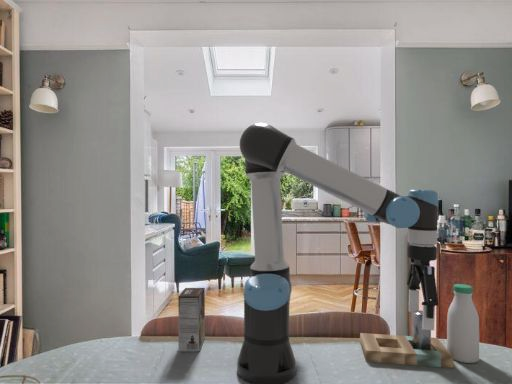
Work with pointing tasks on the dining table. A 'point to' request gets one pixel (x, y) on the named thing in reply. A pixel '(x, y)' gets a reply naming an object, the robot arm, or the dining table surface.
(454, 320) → the milk bottle
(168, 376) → the dining table surface
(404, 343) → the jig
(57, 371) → the dining table surface
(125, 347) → the dining table surface
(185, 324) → the coffee box
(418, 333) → the bushing
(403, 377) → the dining table surface
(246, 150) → the robot arm
